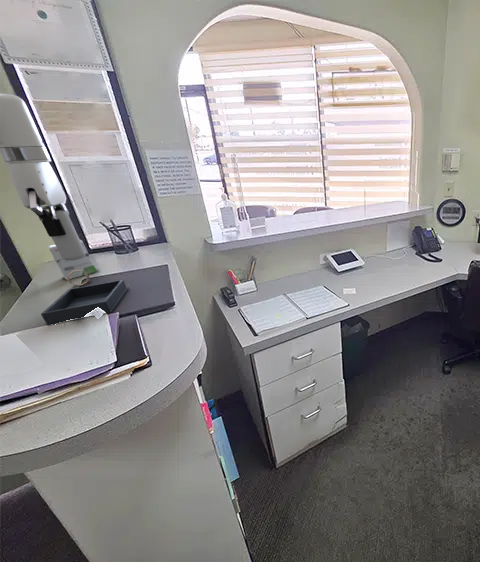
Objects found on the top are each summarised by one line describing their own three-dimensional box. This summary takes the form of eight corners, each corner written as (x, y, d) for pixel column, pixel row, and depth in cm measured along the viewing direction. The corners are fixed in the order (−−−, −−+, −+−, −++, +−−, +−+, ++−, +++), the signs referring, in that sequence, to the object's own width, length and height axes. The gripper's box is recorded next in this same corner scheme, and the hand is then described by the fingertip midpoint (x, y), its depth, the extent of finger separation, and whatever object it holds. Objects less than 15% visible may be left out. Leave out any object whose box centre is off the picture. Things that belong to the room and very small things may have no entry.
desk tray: (47, 325, 78) (40, 314, 76) (74, 299, 91) (68, 288, 90) (111, 312, 82) (105, 301, 81) (127, 289, 96) (123, 279, 94)
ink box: (94, 269, 114) (80, 238, 109) (97, 272, 111) (83, 240, 106) (63, 277, 108) (46, 245, 103) (66, 280, 105) (49, 247, 100)
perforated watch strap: (91, 282, 102) (85, 268, 100) (73, 288, 99) (66, 274, 97) (88, 281, 104) (82, 267, 102) (70, 286, 100) (63, 272, 98)
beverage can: (69, 261, 78) (46, 214, 73) (58, 260, 80) (35, 213, 75) (91, 255, 82) (70, 210, 77) (79, 253, 84) (59, 209, 79)
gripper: (25, 156, 77) (59, 228, 84) (-21, 158, 62) (25, 244, 70) (63, 154, 79) (93, 224, 87) (27, 155, 65) (67, 239, 73)
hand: (62, 232), depth 78 cm, fingers closed on beverage can, 4 cm apart
